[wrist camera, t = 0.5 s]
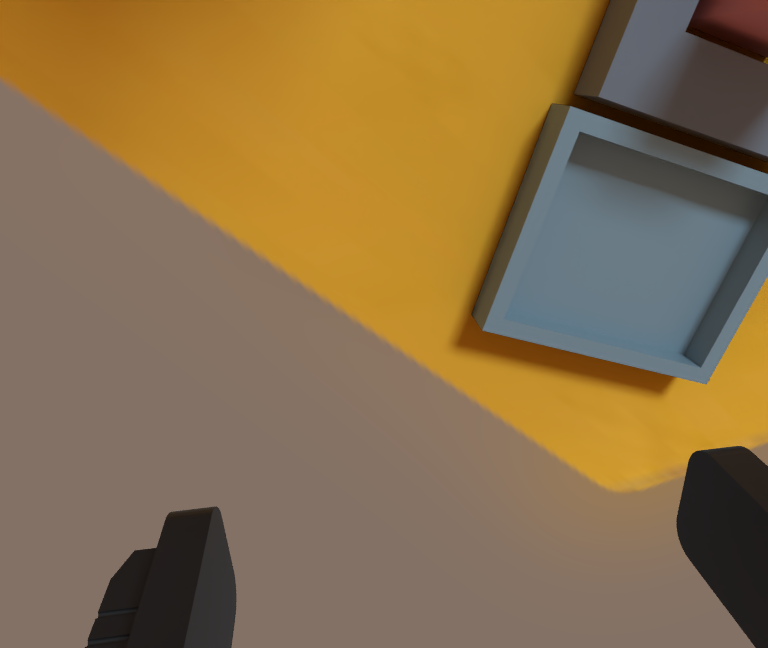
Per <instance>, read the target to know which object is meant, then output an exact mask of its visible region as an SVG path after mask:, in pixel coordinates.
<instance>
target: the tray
mask: <svg viewBox="0 0 768 648" xmlns="http://www.w3.org/2000/svg"><path fill="white" fill-rule="evenodd" d="M767 276H768V174H766V173H763V172H760V171H757V170H754V169H751V168H748V167H745V166H743V165H740V164H737V163H734V162H731V161H728V160H725V159H722V158H719V157H717V156H714V155H711V154H708V153H705V152H702V151H699V150H696V149H693V148H690V147H688V146H685V145H682V144H679V143H676V142H673V141H670V140H667V139H664V138H662V137H659V136H656V135H653V134H650V133H647V132H644V131H641V130H638V129H636V128H633V127H630V126H627V125H624V124H621V123H618V122H615V121H612V120H609V119H607V118H604V117H601V116H598V115H595V114H592V113H589V112H586V111H583V110H581V109H578V108H575V107H572V106H567V105H560V104H553V103H552V105H551V107H550V110H549V113H548V115H547V118H546V121H545V123H544V126H543V128H542V131H541V134H540V136H539V139H538V142H537V144H536V147H535V149H534V152H533V155H532V157H531V160H530V162H529V165H528V168H527V170H526V173H525V176H524V178H523V181H522V183H521V186H520V189H519V191H518V194H517V197H516V199H515V202H514V204H513V207H512V210H511V212H510V215H509V218H508V220H507V223H506V225H505V228H504V231H503V233H502V236H501V239H500V241H499V244H498V246H497V249H496V252H495V254H494V257H493V260H492V262H491V265H490V267H489V270H488V273H487V275H486V278H485V280H484V283H483V286H482V288H481V291H480V294H479V296H478V299H477V301H476V304H475V307H474V309H473V312H472V316H473V317H474V319H475V320H476V322H477V323H478V325H479V326H480V328H481V329H482V331H486V332H490V333H495V334H499V335H503V336H507V337H511V338H515V339H520V340H524V341H528V342H532V343H536V344H540V345H545V346H549V347H553V348H557V349H561V350H565V351H570V352H574V353H578V354H582V355H586V356H590V357H595V358H599V359H603V360H607V361H611V362H615V363H620V364H624V365H628V366H632V367H636V368H640V369H645V370H649V371H653V372H657V373H661V374H665V375H670V376H674V377H678V378H682V379H686V380H690V381H695V382H699V383H703V384H707V382H708V381H709V379H710V377H711V375H712V374H713V372H714V370H715V368H716V366H717V365H718V363H719V361H720V359H721V358H722V356H723V354H724V352H725V350H726V349H727V347H728V345H729V343H730V342H731V340H732V338H733V336H734V335H735V333H736V331H737V329H738V327H739V326H740V324H741V322H742V320H743V319H744V317H745V315H746V313H747V312H748V310H749V308H750V306H751V304H752V303H753V301H754V299H755V297H756V296H757V294H758V292H759V290H760V288H761V287H762V285H763V283H764V281H765V280H766V278H767Z"/></svg>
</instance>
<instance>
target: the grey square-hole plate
mask: <svg viewBox="0 0 768 648" xmlns="http://www.w3.org/2000/svg"><path fill="white" fill-rule="evenodd" d="M698 2H699V0H610V3H609V5H608V8H607V11H606V13H605V16H604V18H603V21H602V23H601V26H600V28H599V31H598V34H597V36H596V39H595V41H594V44H593V46H592V49H591V51H590V54H589V56H588V59H587V62H586V64H585V67H584V69H583V72H582V74H581V77H580V79H579V82H578V85H577V87H576V90H575V92H574V94H575V95H578V96H581V97H583V98H586V99H589V100H592V101H595V102H598V103H601V104H603V105H606V106H609V107H612V108H615V109H618V110H620V111H623V112H626V113H629V114H632V115H635V116H638V117H640V118H643V119H646V120H649V121H652V122H655V123H658V124H660V125H663V126H666V127H669V128H672V129H675V130H677V131H680V132H683V133H686V134H689V135H692V136H695V137H697V138H700V139H703V140H706V141H709V142H712V143H714V144H717V145H720V146H723V147H726V148H729V149H732V150H734V151H737V152H740V153H743V154H746V155H749V156H751V157H754V158H757V159H760V160H763V161H766V162H768V64H765V63H763V62H760V61H758V60H755V59H753V58H750V57H748V56H745V55H743V54H740V53H738V52H735V51H733V50H730V49H727V48H725V47H722V46H720V45H717V44H715V43H712V42H710V41H707V40H705V39H702V38H700V37H697V36H695V35H692V34H690V33H687V32H685V31H686V29H687V27H688V25H689V22H690V20H691V18H692V15H693V13H694V11H695V9H696V6H697V4H698Z"/></svg>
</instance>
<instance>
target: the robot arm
mask: <svg viewBox="0 0 768 648" xmlns="http://www.w3.org/2000/svg"><path fill="white" fill-rule="evenodd" d="M677 532H678V537H679V540H680V543H681V546H682V548H683V550H684V552H685V554H686V555H687V557H688V558H689V560H690V561H691V562H692V564H693V565H694V566H695V568H696V569H697V570H698V572H699V573H700V574H701V576H702V577H703V578H704V580H705V581H706V582H707V584H708V585H709V586H710V588H711V589H712V590H713V592H714V593H715V594H716V596H717V597H718V598H719V599H720V601H721V602H722V603H723V605H724V606H725V607H726V609H727V610H728V611H729V613H730V614H731V615H732V617H733V618H734V619H735V621H736V622H737V623H738V625H739V626H740V627H741V629H742V630H743V631H744V633H745V634H746V635H747V637H748V638H749V639H750V641H751V642H752V643H753V645H754V646H755V647H756V648H768V466H767V465H765V463H763V462H762V461H761V460H760V459H759V458H758V457H757V456H756V455H755V454H753V453H752V452H751V451H750V450H749V449H747V448H745V447H742V446H734V447H726V448H717V449H709V450H701V451H696V452H694V453H693V454H692V455H691V457H690V459H689V462H688V467H687V472H686V476H685V481H684V486H683V491H682V496H681V500H680V505H679V510H678V515H677ZM235 614H236V584H235V575H234V570H233V566H232V561H231V557H230V552H229V547H228V543H227V539H226V534H225V529H224V525H223V520H222V516H221V512H220V510H219V508H218V507H209V508H200V509H192V510H183V511H175V512H170V513H169V514H168V515H167V517H166V520H165V523H164V526H163V529H162V532H161V536H160V539H159V542H158V546H157V548H152V549H144V550H136V551H134V552H133V553H132V554H131V556H130V557H129V558H128V559H127V561H126V562H125V563H124V564H123V565H122V566H121V568H120V569H119V570H118V571H117V573H116V574H115V575H114V576H113V577H112V578H111V580H110V583H109V585H108V588H107V590H106V593H105V595H104V598H103V601H102V603H101V606H100V609H99V611H98V618H97V619H95V622H94V624H93V627H92V630H91V633H90V635H89V638H88V646H87V647H85V648H231V645H232V638H233V631H234V623H235Z"/></svg>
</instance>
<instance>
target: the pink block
mask: <svg viewBox="0 0 768 648" xmlns="http://www.w3.org/2000/svg"><path fill="white" fill-rule="evenodd" d="M688 26H689V27H692V28H694V29H697V30H699V31H702V32H704V33H707V34H709V35H712V36H714V37H717V38H719V39H722V40H724V41H727V42H729V43H732V44H734V45H737V46H739V47H742V48H744V49H747V50H749V51H752V52H754V53H757V54H759V55H762V56H764V57H768V0H699V2H698V4H697V6H696V9H695V11H694V13H693V15H692V18H691V20H690V22H689V25H688Z"/></svg>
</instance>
